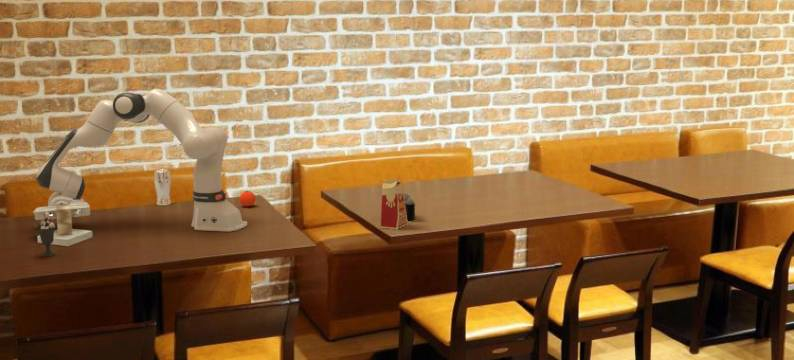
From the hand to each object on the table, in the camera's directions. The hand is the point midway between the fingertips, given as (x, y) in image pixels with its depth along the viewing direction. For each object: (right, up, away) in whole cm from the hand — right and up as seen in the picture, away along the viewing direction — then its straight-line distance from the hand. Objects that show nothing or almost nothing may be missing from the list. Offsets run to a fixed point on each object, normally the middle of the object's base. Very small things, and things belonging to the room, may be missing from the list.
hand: (63, 216), depth 358 cm
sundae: (0, -13, -17) cm, 21 cm away
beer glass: (+22, +3, +63) cm, 66 cm away
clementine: (+60, +2, +58) cm, 83 cm away
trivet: (0, -9, +3) cm, 10 cm away
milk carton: (+124, -5, +22) cm, 126 cm away
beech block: (0, -7, +2) cm, 7 cm away
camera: (+129, -2, +37) cm, 134 cm away
